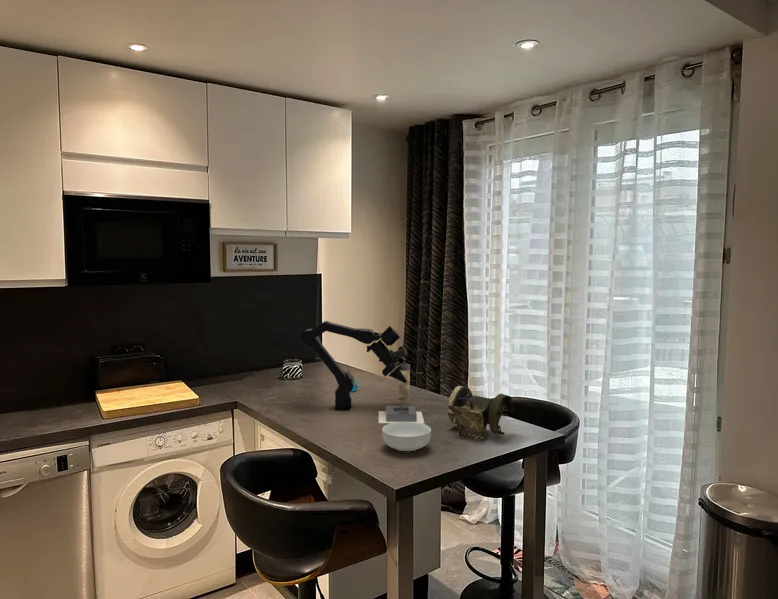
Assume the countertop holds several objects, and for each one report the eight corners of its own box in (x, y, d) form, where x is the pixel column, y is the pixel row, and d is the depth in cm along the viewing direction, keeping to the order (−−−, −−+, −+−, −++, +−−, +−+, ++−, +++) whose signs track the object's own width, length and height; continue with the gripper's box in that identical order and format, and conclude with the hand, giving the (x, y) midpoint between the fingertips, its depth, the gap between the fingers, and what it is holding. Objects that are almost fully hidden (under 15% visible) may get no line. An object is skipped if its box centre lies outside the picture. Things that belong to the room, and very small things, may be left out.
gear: (346, 390, 261) (338, 373, 266) (339, 398, 264) (332, 380, 269) (363, 390, 269) (355, 373, 274) (357, 397, 272) (349, 380, 277)
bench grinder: (469, 411, 224) (457, 371, 216) (520, 420, 210) (508, 377, 202) (445, 444, 211) (431, 403, 203) (497, 456, 197) (484, 412, 189)
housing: (386, 421, 218) (386, 414, 218) (385, 412, 230) (385, 405, 230) (416, 421, 219) (416, 414, 218) (414, 412, 231) (414, 405, 230)
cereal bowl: (415, 437, 202) (415, 418, 201) (440, 452, 187) (440, 432, 187) (373, 444, 194) (373, 424, 193) (396, 460, 179) (396, 439, 179)
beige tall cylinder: (399, 400, 232) (400, 365, 230) (398, 398, 236) (399, 363, 235) (409, 401, 232) (410, 365, 230) (408, 398, 236) (409, 363, 235)
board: (378, 424, 216) (378, 422, 216) (378, 412, 232) (378, 411, 232) (424, 424, 217) (424, 423, 217) (421, 413, 233) (421, 411, 233)
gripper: (390, 344, 224) (416, 373, 222) (402, 337, 242) (425, 364, 240) (371, 361, 227) (396, 390, 225) (384, 354, 244) (407, 380, 242)
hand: (407, 381), depth 233 cm, fingers closed on beige tall cylinder, 4 cm apart
